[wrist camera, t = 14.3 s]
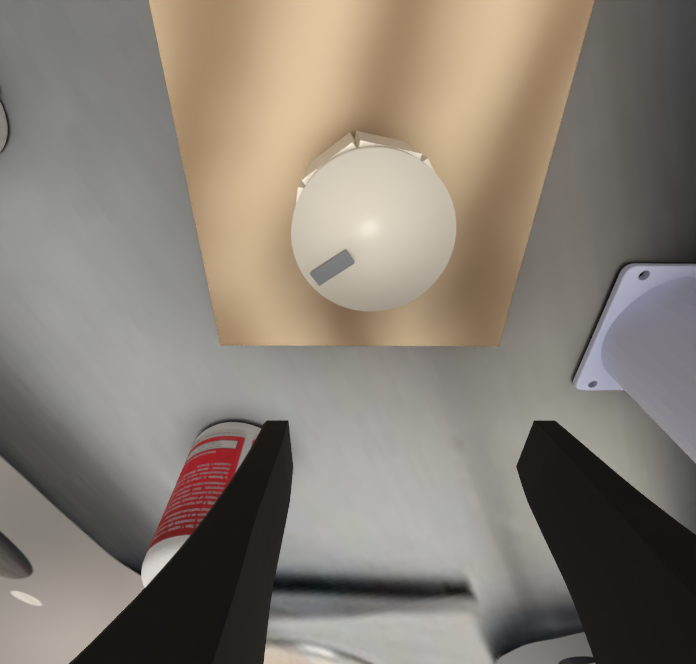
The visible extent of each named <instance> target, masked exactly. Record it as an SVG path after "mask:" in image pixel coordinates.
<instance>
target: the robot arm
mask: <svg viewBox="0 0 696 664" xmlns="http://www.w3.org/2000/svg"><path fill="white" fill-rule="evenodd" d="M643 271H644V273H643V275H641V276H640V277H639V275H640V273H642V272H643ZM590 382H591V383H590ZM573 385H574V386H575V387H576V388H577V389H578V390H625V391H626V392H627V393H628V394H629V395H630V396H631V397H632V398H633V399H634V400H635V401H636V402H637V404H638V405H639V406H640V407H641V408H642V409H643V410H644V411H645V412H646V413H647V414H648V415H649V416H650V417H651V418H652V419H653V420H654V421H655V422H656V423H657V424H658V425H659V426H660V427H661V428H662V429H663V430H664V431H665V432H666V433H667V434H668V435H669V436H670V437H671V438H672V439H673V441H674V442H675V443H676V444H677V445H678V446H679V447H680V448H681V449H682V450H683V451H684V452H685V453H686V454H687V455H688V456H689V457H690V458H691V459H692V460H693V461H694V462H695V463H696V264H655V263H633V264H629V265H627V266H625V267H624V268H623V269H622V270H621V272H620V274H619V276H618V278H617V281H616V283H615V285H614V288H613V290H612V292H611V294H610V297H609V299H608V301H607V304H606V306H605V308H604V311H603V313H602V315H601V318H600V320H599V322H598V324H597V327H596V329H595V331H594V334H593V336H592V338H591V341H590V343H589V345H588V348H587V350H586V352H585V355H584V357H583V359H582V361H581V364H580V366H579V368H578V371H577V373H576V375H575V378H574V380H573ZM516 467H517V470H518V474H519V477H520V480H521V483H522V486H523V489H524V492H525V495H526V498H527V501H528V503H529V506H530V508H531V510H532V512H533V514H534V517H535V519H536V521H537V523H538V525H539V527H540V530H541V532H542V534H543V536H544V538H545V540H546V542H547V544H548V547H549V549H550V551H551V553H552V555H553V557H554V559H555V562H556V564H557V566H558V568H559V570H560V572H561V574H562V576H563V579H564V581H565V583H566V585H567V588H568V590H569V592H570V595H571V597H572V599H573V602H574V604H575V607H576V610H577V612H578V615H579V618H580V621H581V623H582V626H583V629H584V632H585V634H586V636H587V640H588V642H589V645H590V648H591V651H592V654H593V657H594V660H595V663H596V664H696V535H695V534H694V533H692V532H691V531H690V530H688V529H687V528H686V527H684V526H683V525H682V524H680V523H679V522H677V521H676V520H675V519H674V518H672V517H671V516H670V515H668V514H667V513H666V512H664V511H663V510H662V509H661V508H659V507H658V506H657V505H655V504H654V503H653V502H651V501H650V500H649V499H648V498H646V497H645V496H644V495H643V494H641V493H640V492H639V491H638V490H636V489H635V488H634V487H633V486H632V485H630V484H629V483H628V482H627V481H625V480H624V479H623V478H622V477H621V476H619V475H618V474H617V473H616V472H615V471H613V470H612V469H611V468H610V467H609V466H608V465H606V464H605V463H604V462H603V461H602V460H600V459H599V458H598V457H597V456H596V455H595V454H594V453H592V452H591V451H590V450H589V449H588V448H587V447H585V446H584V445H583V444H582V443H581V442H580V441H578V440H577V439H576V438H575V437H574V436H573V435H571V434H570V433H569V432H568V431H567V430H566V429H564V428H563V427H562V426H561V425H559V424H558V423H557V422H556V421H534V422H533V425H532V427H531V430H530V433H529V435H528V438H527V440H526V443H525V445H524V448H523V451H522V453H521V456H520V458H519V461H518V463H517V466H516ZM292 473H293V462H292V452H291V442H290V433H289V423H288V421H266V422H265V423H264V424H263V426H262V428H261V430H260V432H259V434H258V436H257V438H256V440H255V441H254V443H253V445H252V447H251V448H250V450H249V452H248V453H247V455H246V457H245V458H244V460H243V462H242V463H241V465H240V466H239V468H238V470H237V471H236V473H235V474H234V476H233V477H232V479H231V480H230V482H229V483H228V485H227V486H226V488H225V489H224V491H223V492H222V494H221V495H220V496H219V498H218V499H217V501H216V502H215V503H214V505H213V506H212V507H211V509H210V510H209V512H208V513H207V514H206V516H205V517H204V518H203V520H202V521H201V522H200V524H199V525H198V526H197V528H196V529H195V530H194V531H193V533H192V534H191V535H190V536H189V538H188V539H187V540H186V541H185V543H184V544H183V545H182V546H181V547H180V549H179V550H178V551H177V552H176V553H175V555H174V556H173V557H172V558H171V559H170V560H169V561H168V563H167V564H166V565H165V566H164V567H163V568H162V569H161V571H160V572H159V573H158V574H157V575H156V576H155V577H154V578H153V580H152V581H151V582H150V583H149V584H148V585H147V586H146V587H145V588H144V589H143V590H142V592H141V593H140V594H139V595H138V596H137V597H136V598H135V599H134V600H133V601H132V602H131V603H130V604H129V605H128V606H127V607H126V608H125V609H124V610H123V611H122V612H121V613H120V614H119V615H118V616H117V617H116V618H115V619H114V620H113V621H112V622H111V623H110V624H109V625H108V626H107V627H106V628H105V629H104V630H103V631H102V633H100V634H99V635H98V636H97V637H96V638H95V640H93V641H92V642H91V643H90V645H88V646H87V647H86V648H85V649H84V650H83V651H82V652H81V653H80V654H79V655H78V656H77V657H76V658H75V659H74V660H72V661H71V662H70V663H69V664H263V662H264V653H265V644H266V636H267V627H268V618H269V610H270V602H271V596H272V590H273V584H274V579H275V574H276V569H277V564H278V559H279V554H280V549H281V544H282V539H283V534H284V529H285V524H286V518H287V513H288V508H289V503H290V494H291V484H292Z"/></svg>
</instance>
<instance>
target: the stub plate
mask: <svg viewBox="0 0 696 664" xmlns="http://www.w3.org/2000/svg"><path fill="white" fill-rule="evenodd" d="M594 1H595V0H149V3H150V8H151V12H152V17H153V22H154V27H155V32H156V36H157V41H158V46H159V51H160V56H161V61H162V65H163V70H164V75H165V80H166V85H167V90H168V94H169V99H170V104H171V109H172V114H173V118H174V123H175V128H176V133H177V138H178V143H179V147H180V152H181V157H182V162H183V167H184V172H185V176H186V181H187V186H188V191H189V196H190V201H191V205H192V210H193V215H194V220H195V225H196V229H197V234H198V239H199V244H200V249H201V254H202V258H203V263H204V268H205V273H206V278H207V283H208V287H209V292H210V297H211V302H212V307H213V311H214V316H215V321H216V326H217V331H218V336H219V340H220V345H285V346H499V343H500V340H501V336H502V333H503V329H504V325H505V322H506V318H507V314H508V311H509V307H510V304H511V300H512V296H513V293H514V289H515V286H516V282H517V278H518V275H519V271H520V268H521V264H522V260H523V257H524V253H525V250H526V246H527V242H528V239H529V235H530V231H531V228H532V224H533V221H534V217H535V213H536V210H537V206H538V203H539V199H540V195H541V192H542V188H543V185H544V181H545V177H546V174H547V170H548V167H549V163H550V159H551V156H552V152H553V148H554V145H555V141H556V138H557V134H558V130H559V127H560V123H561V120H562V116H563V112H564V109H565V105H566V102H567V98H568V94H569V91H570V87H571V84H572V80H573V76H574V73H575V69H576V65H577V62H578V58H579V55H580V51H581V47H582V44H583V40H584V37H585V33H586V29H587V26H588V22H589V19H590V15H591V11H592V8H593V4H594ZM356 131H361V132H365V133H370V134H374V135H379V136H383V137H388V138H393V139H397V140H402V141H404V142H405V143H407V144H408V145H410V146H411V147H413V148H414V149H416V150H417V151H419V152H420V153H422V155H424V156H425V157H427V158H428V159H429V161H430V163H431V165H432V167H433V169H434V171H435V173H436V174H437V176H438V177H439V178H440V179H441V180H442V182H443V183H444V185H445V187H446V188H447V190H448V192H449V194H450V197H451V199H452V202H453V206H454V210H455V215H456V238H455V244H454V248H453V251H452V254H451V257H450V259H449V261H448V264H447V266H446V267H445V269H444V271H443V272H442V274H441V275H440V276H439V278H438V279H437V280H436V282H435V283H434V284H433V285H432V286H431V287H430V288H429V289H428V290H426V291H425V292H424V293H423V294H422V295H420V296H419V297H417V298H415V299H414V300H412V301H410V302H408V303H406V304H404V305H401V306H399V307H396V308H392V309H388V310H383V311H358V310H353V309H348V308H345V307H342V306H340V305H337V304H335V303H333V302H331V301H329V300H328V299H326V298H325V297H323V296H322V295H321V294H320V293H318V292H317V291H316V290H315V289H314V288H313V287H312V286H311V285H310V284H309V283H308V281H307V280H306V278H305V277H304V276H303V274H302V272H301V270H300V269H299V267H298V265H297V262H296V259H295V256H294V252H293V248H292V245H291V242H292V241H291V224H292V218H293V213H294V210H295V207H296V199H297V190H298V186H299V184H300V182H301V180H302V178H303V176H304V174H305V172H306V171H307V169H308V167H309V165H310V163H311V161H313V160H314V159H315V158H317V157H318V156H319V155H321V154H322V153H323V152H324V151H326V150H327V149H328V148H330V147H331V146H332V145H334V144H335V143H336V142H337V141H339V140H340V139H341V138H343V137H344V136H345V135H347V134H348V133H349V132H351V134H352V136H353V137H354V139H355V133H356Z"/></svg>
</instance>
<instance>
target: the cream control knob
mask: <svg viewBox="0 0 696 664" xmlns="http://www.w3.org/2000/svg"><path fill="white" fill-rule="evenodd" d="M455 238H456V215H455V210H454V206H453V202H452V199H451V197H450V194H449V192H448V190H447V188H446V187H445V185H444V183H443V182H442V180H441V179H440V178H439V177H438V176H437V174H436V173H435V171H434V169H433V167H432V165H431V163H430V161H429V159H428V158H427V157H425V156H424V155H422V153H420V152H419V151H417V150H416V149H414V148H413V147H411V146H410V145H408V144H407V143H405V142H404V141H402V140H397V139H393V138H388V137H383V136H379V135H374V134H370V133H365V132H361V131H356V133H355V139H354V137H353V136H352V134H351V132H349V133H348V134H347V135H345V136H344V137H343V138H341V139H340V140H339V141H337V142H336V143H335V144H334V145H332V146H331V147H330V148H328V149H327V150H326V151H324V152H323V153H322V154H321V155H319V156H318V157H317V158H315V159H314V160H313V161H311V163H310V165H309V167H308V169H307V171H306V172H305V174H304V176H303V178H302V180H301V182H300V184H299V186H298V190H297V199H296V207H295V210H294V213H293V218H292V224H291V241H292V242H291V245H292V248H293V252H294V256H295V259H296V262H297V265H298V267H299V269H300V270H301V272H302V274H303V276H304V277H305V278H306V280H307V281H308V283H309V284H310V285H311V286H312V287H313V288H314V289H315V290H316V291H317V292H318V293H320V294H321V295H322V296H323V297H325V298H326V299H328V300H329V301H331V302H333V303H335V304H337V305H340V306H342V307H345V308H348V309H353V310H358V311H383V310H388V309H392V308H396V307H399V306H401V305H404V304H406V303H408V302H410V301H412V300H414V299H415V298H417V297H419V296H420V295H422V294H423V293H424V292H425V291H426V290H428V289H429V288H430V287H431V286H432V285H433V284H434V283H435V282H436V280H437V279H438V278H439V276H440V275H441V274H442V272H443V271H444V269H445V267H446V266H447V264H448V261H449V259H450V257H451V254H452V251H453V248H454V244H455Z"/></svg>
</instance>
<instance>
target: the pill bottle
mask: <svg viewBox="0 0 696 664" xmlns="http://www.w3.org/2000/svg"><path fill="white" fill-rule="evenodd" d="M260 430H261V428H259V427H256V426H253V425H250V424H246V423H239V422H225V423H220V424H217V425H214V426H212V427H210V428H208V429H206V430H205V431H203V432H202V433H201V434H200V435H199V436H198V437H197V439H196V440H195V442H194V444H193V446H192V448H191V450H190V453H189V455H188V457H187V460H186V462H185V465H184V467H183V469H182V472H181V474H180V476H179V479H178V481H177V483H176V486H175V488H174V490H173V493H172V495H171V497H170V500H169V502H168V504H167V507H166V509H165V511H164V513H163V516H162V518H161V521H160V523H159V526H158V528H157V530H156V532H155V535H154V537H153V539H152V542H151V544H150V546H149V549H148V551H147V554H146V557H145V559H144V562H143V565H142V571H141V576H142V582H143V585H144V588H145V587H146V586H147V585H148V584H149V583H150V582H151V581H152V580H153V578H154V577H155V576H156V575H157V574H158V573H159V572H160V571H161V569H162V568H163V567H164V566H165V565H166V564H167V563H168V561H169V560H170V559H171V558H172V557H173V556H174V555H175V553H176V552H177V551H178V550H179V549H180V547H181V546H182V545H183V544H184V543H185V541H186V540H187V539H188V538H189V536H190V535H191V534H192V533H193V531H194V530H195V529H196V528H197V526H198V525H199V524H200V522H201V521H202V520H203V518H204V517H205V516H206V514H207V513H208V512H209V510H210V509H211V507H212V506H213V505H214V503H215V502H216V501H217V499H218V498H219V496H220V495H221V494H222V492H223V491H224V489H225V488H226V486H227V485H228V483H229V482H230V480H231V479H232V477H233V476H234V474H235V473H236V471H237V470H238V468H239V466H240V465H241V463H242V462H243V460H244V458H245V457H246V455H247V453H248V452H249V450H250V448H251V447H252V445H253V443H254V441H255V440H256V438H257V436H258V434H259V432H260Z"/></svg>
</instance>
